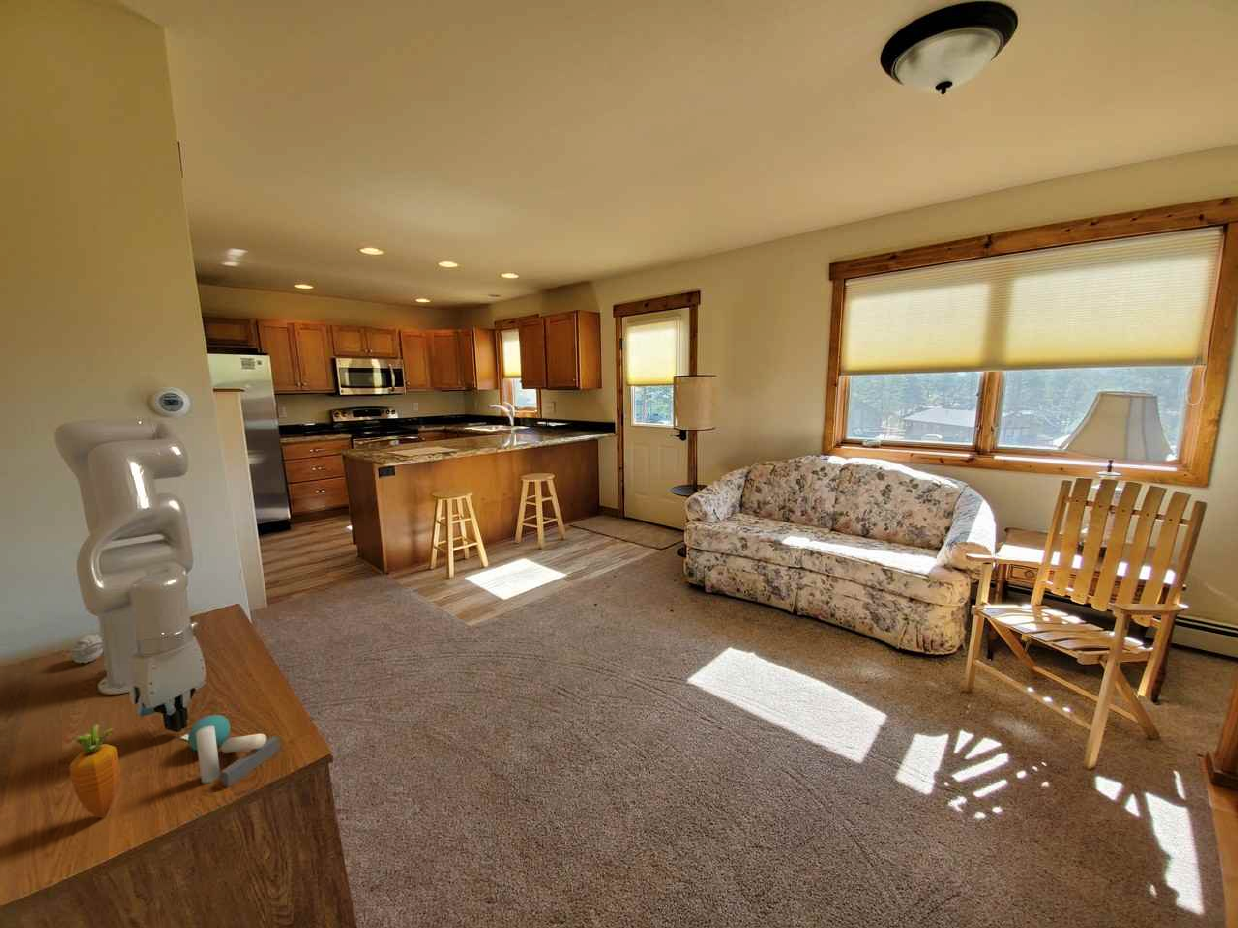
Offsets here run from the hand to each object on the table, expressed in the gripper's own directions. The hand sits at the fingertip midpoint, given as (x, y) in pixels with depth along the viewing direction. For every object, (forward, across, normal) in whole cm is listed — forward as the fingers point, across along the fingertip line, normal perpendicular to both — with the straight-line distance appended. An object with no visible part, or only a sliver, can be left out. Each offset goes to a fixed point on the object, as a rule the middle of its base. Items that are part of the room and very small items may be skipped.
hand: (177, 727), depth 93 cm
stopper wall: (+2, +2, +22) cm, 22 cm away
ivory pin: (0, 0, +14) cm, 14 cm away
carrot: (+2, +16, +10) cm, 19 cm away
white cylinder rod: (+2, +6, +18) cm, 18 cm away
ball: (-2, 0, +10) cm, 10 cm away
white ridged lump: (+2, -11, -50) cm, 51 cm away
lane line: (+2, 0, +6) cm, 6 cm away
